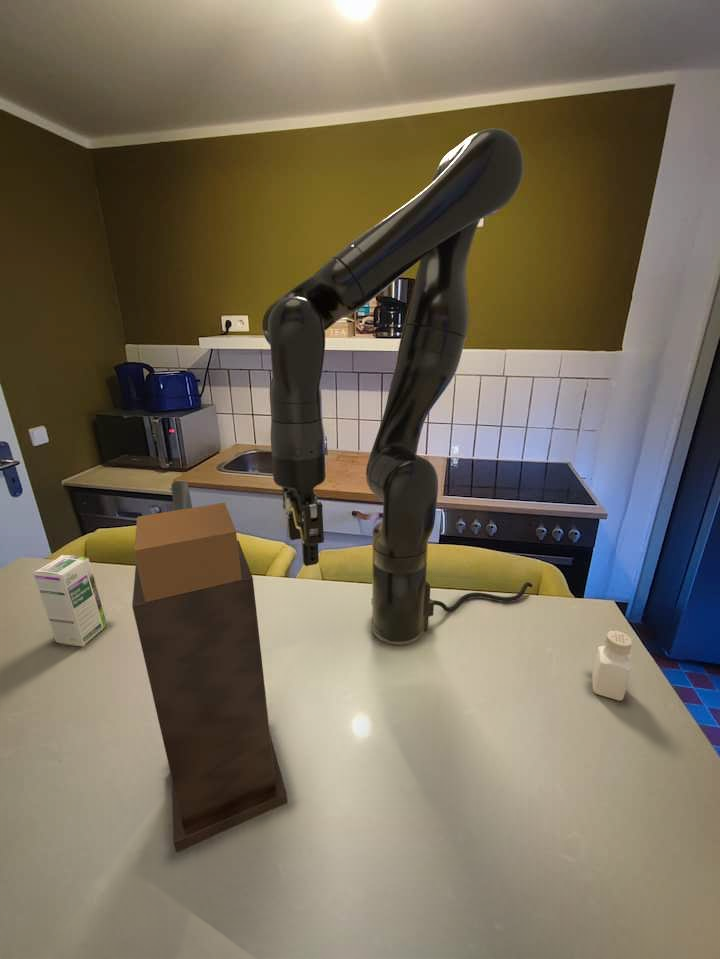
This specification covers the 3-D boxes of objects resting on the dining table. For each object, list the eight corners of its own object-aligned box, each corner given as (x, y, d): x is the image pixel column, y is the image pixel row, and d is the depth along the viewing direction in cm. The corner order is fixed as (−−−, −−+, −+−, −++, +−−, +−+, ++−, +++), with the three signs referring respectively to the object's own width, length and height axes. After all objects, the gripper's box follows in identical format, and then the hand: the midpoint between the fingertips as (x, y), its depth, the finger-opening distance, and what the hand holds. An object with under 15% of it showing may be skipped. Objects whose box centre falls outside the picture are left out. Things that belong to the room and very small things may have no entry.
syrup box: (83, 647, 73) (62, 574, 68) (54, 643, 74) (31, 571, 69) (108, 626, 78) (90, 556, 73) (80, 621, 79) (61, 553, 74)
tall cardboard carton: (212, 491, 60) (207, 457, 58) (241, 580, 39) (236, 531, 37) (149, 500, 56) (142, 464, 55) (145, 602, 36) (133, 550, 34)
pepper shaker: (620, 683, 65) (634, 633, 62) (623, 703, 62) (637, 651, 58) (591, 675, 67) (602, 625, 63) (592, 694, 63) (604, 642, 60)
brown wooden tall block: (268, 731, 58) (246, 534, 47) (287, 802, 49) (266, 580, 39) (172, 767, 53) (125, 557, 43) (175, 852, 45) (117, 616, 34)
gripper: (340, 461, 56) (341, 568, 61) (309, 436, 68) (313, 527, 74) (283, 467, 53) (290, 579, 59) (262, 440, 66) (269, 534, 71)
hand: (303, 550), depth 66 cm, fingers open, 8 cm apart
